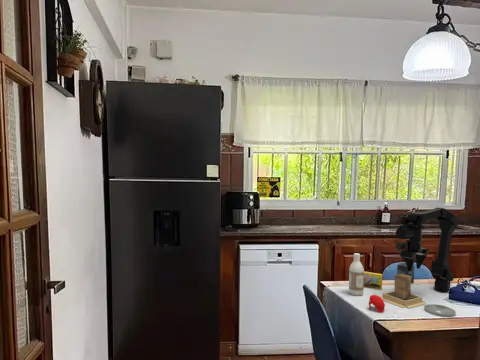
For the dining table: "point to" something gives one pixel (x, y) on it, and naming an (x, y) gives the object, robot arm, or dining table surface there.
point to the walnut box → (402, 287)
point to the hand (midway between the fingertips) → (413, 269)
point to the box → (405, 271)
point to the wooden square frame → (409, 304)
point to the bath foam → (356, 276)
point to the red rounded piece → (377, 303)
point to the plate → (439, 310)
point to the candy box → (373, 280)
